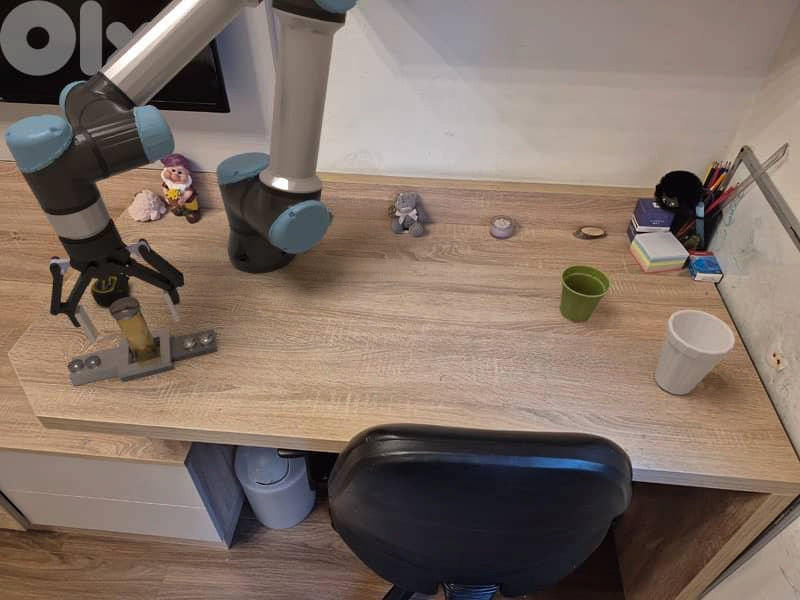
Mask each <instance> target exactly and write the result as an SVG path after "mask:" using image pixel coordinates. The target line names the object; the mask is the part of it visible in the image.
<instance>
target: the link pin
mask: <svg viewBox="0 0 800 600" xmlns="http://www.w3.org/2000/svg"><path fill="white" fill-rule="evenodd" d="M141 307H142V306H141V304H140V302H139V300H138V299H137V298H136V297H133V296H128V297H125V298H121V299H118V300H117V301H115V302H114V303H112V304H111V306H109V307H108V308H109V309H108V311H109V313H110V315H111V317H112V319H114V320H116V323H117V326H118V327H119V329H120V331H121V332H122V334H123V336H124V339H126V341H127V343H128V345H129V347H130V349H131V350H132V352H133V357H134V359H135V360H136V363H138V362H142V361H146V360H151V359H155V358H159V357H161V355H160V349H159V348H158V346H156V343H155V341H154V339H153V337H152V335H151V330H150V328H149V326H148V324H147V322H146V319H145V317H144V316H143V313H142V311H141Z"/></svg>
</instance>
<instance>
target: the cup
mask: <svg viewBox="0 0 800 600" xmlns="http://www.w3.org/2000/svg"><path fill="white" fill-rule="evenodd" d="M735 344H736V337H735V334H734V331H733V330H732V329H731V328H730V326H729V325H728V324H727V323H726V322H725V321H723V320H721V319H720V318H719V317H717V316H715V315H713V314H710V313H708V312H705V311H703V310H698V309H697V310H696V309H683V310H682V309H681V310H677V311H675V312H674V313H673V314H671V315H670V317H669V319H668V321H667V324H666V328H665V338H664V341H663V345H662V348H661V351H660V355H659V359H658V363H657V367H656V369H655V373H654V379H655V382H656V384H657V385H658V386H659V387H660V388H661V389H662V390H664V391H665V392H668V393H670V394H673V395H678V396H681V395H687V394H689V393H690V392H691V391H692V390H693V389H694V388H695V387H697V385H698V384H699V383H700V382H701V381H702V380H703V379H704V378H705V377H706V376H707V375H708V374H709V373H710V372H711V371H712V370H713V369H714V368H715V367H716V366H717V365H718V364H719V363H720V362H721V360H722V359H724V357H726V356H728V354H730V352H731V351H732V350H733V349H734V347H735Z"/></svg>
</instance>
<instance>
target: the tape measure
mask: <svg viewBox="0 0 800 600" xmlns="http://www.w3.org/2000/svg"><path fill="white" fill-rule="evenodd" d="M130 279H131V277H129V276H127V275H125V274H122V273H121V274H120V276H116V277H107V278H105V279H102V280H98V279H96V280H95V282H93V283H92V285H91V288H90V294H91V296H92V298H93V299H94V301H95V302H96V303H97V304H99V305H100V306H104V307H106V306H107V307H108V306H109V307H110V306H111V304H112V303H114V302H115V301H117V300H118V299H121V298H125V297H129V293H128V291H129V280H130Z"/></svg>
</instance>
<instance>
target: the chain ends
mask: <svg viewBox="0 0 800 600" xmlns="http://www.w3.org/2000/svg"><path fill="white" fill-rule="evenodd" d="M150 332H151V331H150ZM151 335H152V337H153V339H154V341H155V343H156V346H157V347H160V348H159V352H160V355H161V357H159V358H155V359H151V360H146V361H142V362H135V363H133V358H134V354H133V352H132V350H131V349H130V347H129V345H128V343H127V341H126V339H125V338H122V339H119V344H118V346H115V347H112V348H107V349H103V350H98V351H94V352H90V353H85V354H82V355H77V356H72V357H71V361H70V362H69V363H68V364H67V368H68V370H69V371H70V372H69V380H70V381H71V383H72V385H73V386H74V387H77V386H78V387H79V386H80V385H85V384H90V383H93V382H98V381H102V380H106V379H110V378H114V377H119V378H120V380H121V382H122V383H124V382H128V381H133V380H136V379H140V378H145V377H148V376H153V375H157V374H161V373H165V372H168V371H172V370H175V366H174V365H175V364H174V363H175V362H180V361H183V360H189V359H192V358H196V357H200V356H204V355H208V354H212V353H216V352H218V344H217V338H216V332H215V329H207V330H204V331H200V332H195V333H190V334H187V335H184V336H179V337H174V338H173V336H172V335H173V334H172V333H171V331H170V329H169V328H164V329H161V330H157V331H156V330H155V331H152V332H151Z"/></svg>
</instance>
